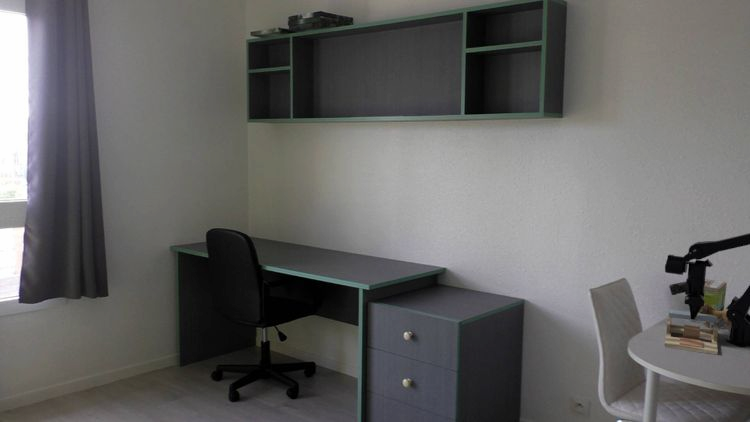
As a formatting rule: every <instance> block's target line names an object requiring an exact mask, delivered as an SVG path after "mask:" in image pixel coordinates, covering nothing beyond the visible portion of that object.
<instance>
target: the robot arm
mask: <svg viewBox="0 0 750 422" xmlns="http://www.w3.org/2000/svg"><path fill="white" fill-rule="evenodd" d="M749 245H750V232H749V233H744V234H741V235H737V236H736V235H735V236H732V237H729V238H728V237H727V238H724V239H719V240H707V241H697V242H695V243H693V244H691V245H690V246H689V248H688V252H687V253H686V254H685V255H684V256H678V255H675V254H668V255H667V259H666V262H665V264H664V271H665V273H666V274H672V275H679V276H683V275H684V274H685V273H687V278H685V279H686V281H681V282H677V283H672V284H670V285H669V287H668V288H669V291H670V293H671V295H672V296H675V295H678V294H684V295H685V296H684V303H683V304H685V305H688V307H689V312H690V315H691V319H693V320H694V319H695V317H696V316H697V314H698V312H699V311H700V309H701V307H702V306H704V302H705V299H704V298H703V297H704V287H705V279H706V274H707V273H706V272H707V268H712V266H714V264H713V263H712V262H711V261H710V259H709V258H707V257H710V256H712V255H715V254H716V253H719V252H723V251H727V250H732V249H736V248H741V247H744V246H749ZM706 258H707V259H706ZM702 259H706V260H702ZM692 260H695V261H692ZM725 309H726V311H727V312H726V316H727V318H728V319H729V320H730V321H731V323H732V326H730V328H731V330H729V331H730V332H729V339H725V341H726V342H727V343H730V344H733V345H736V346H737V347H741V348H742V347H750V314H749V311H750V284H749V286H748V287H747V288H746V289H745V291H744V292H743V294H742V295H741V296H740V297H737V296H736V295H735V296H734V297H733V298H732V299H731V302H730V303H729V304H728V305H727V306H726V308H725Z"/></svg>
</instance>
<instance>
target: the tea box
mask: <svg viewBox="0 0 750 422" xmlns="http://www.w3.org/2000/svg"><path fill="white" fill-rule="evenodd" d="M726 293H727V282H726V281H719V280H714V279H706V278H705V287H704V297H703V298H704V299H705V302H704V303H705V304H707V305H708V306H711V307H712V308H713V309H714V310H716V311H725V303H726V302H725V301H726V295H727V294H726ZM690 321H692V322H695V323H702V324H704V323H705V322H702V321H694V320H690ZM720 321H721V320H718V322H717V324H718V323H719V322H720ZM710 325H714V323H710Z"/></svg>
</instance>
